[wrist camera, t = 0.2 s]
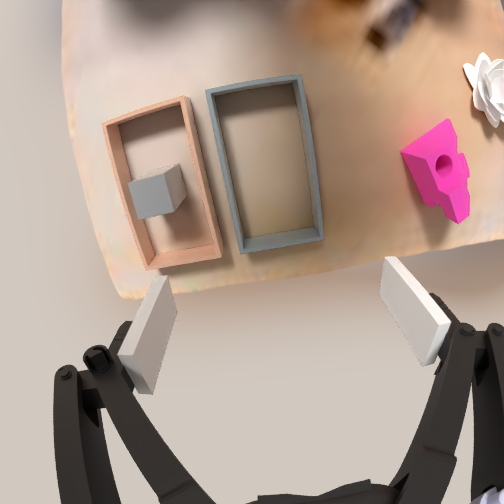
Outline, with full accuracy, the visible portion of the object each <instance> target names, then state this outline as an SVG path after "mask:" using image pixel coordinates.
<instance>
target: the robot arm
mask: <svg viewBox="0 0 504 504" xmlns="http://www.w3.org/2000/svg"><path fill="white" fill-rule="evenodd" d="M379 296H380V297H381V299H382V300H383V302H384V303H385V305H386V307H387V308H388V310H389V311H390V313H391V315H392V316H393V318H394V319H395V321H396V323H397V324H398V326H399V328H400V329H401V331H402V333H403V334H404V336H405V338H406V339H407V341H408V343H409V345H410V346H411V348H412V350H413V352H414V353H415V355H416V357H417V359H418V360H419V362H420V364H421V366H422V367H423V366H427V365H430V364H433V363H434V362H435V360H436V358H437V355H438V356H439V358H440V359H441V361H440V363H439V365H438V367H437V369H436V371H435V375H436V376H435V380H434V383H433V386H432V390H431V393H430V396H429V399H428V402H427V405H426V408H425V410H424V413H423V416H422V419H421V421H420V424H419V426H418V429H417V431H416V434H415V436H414V438H413V441H412V443H411V445H410V448H409V450H408V453H407V454H406V457H405V459H404V461H403V463H402V465H401V467H400V469H399V471H398V472H397V474H396V476H395V477H394V478H393V480H392V481H391V483H390V484H389V486H387V485H381V484H371V481H370V479H368V480H364V481H360V482H355V483H351V484H346V485H343V486H341V487H338V488H336V489H334V490H332V491H329V492H326V493H324V494H321V495H319V496H301V495H292V494H278V495H263V496H258V500H257V501H253V502H250V503H247V504H441V501H442V499H443V497H444V494H445V492H446V490H447V487H448V485H449V482H450V479H451V477H452V474H453V471H454V468H455V465H456V462H457V458H456V457H455V456H454V453H455V449H456V446H457V443H458V439H459V436H460V432H461V429H462V424H463V420H464V416H465V412H466V408H467V403H468V398H469V392H470V387H471V382H472V394H473V410H474V453H473V454H474V455H473V470H472V480H471V503H470V504H504V327H503V326H502V325H500V324H497V323H491V324H489V326H488V328H487V330H486V331H476V330H475V328H474V327H473V326H471V325H470V324H467V323H460V322H459V320H458V319H457V318H456V317H455V315H454V314H453V313H452V312H451V310H450V309H448V307H447V306H446V304H444V302H443V301H442V300H441V298H440V297H438V296H436V295H435V294H433V293H429V294H428V293H427V292H426V290H425V289H424V288H423V287H422V286H421V285H420V283H419V282H418V281H417V280H416V279H415V278H414V276H413V275H412V274H411V273H410V272H409V271H408V270H407V269H406V268H405V266H404V265H403V264H402V263H401V262H400V261H399V260H398V259H397V258H396V257H395V256H390V257H384V265H383V272H382V278H381V285H380V290H379ZM176 315H177V309H176V306H175V302H174V298H173V294H172V291H171V287H170V283H169V279H168V275H165V276H156V277H155V278H154V280H153V282H152V284H151V286H150V288H149V290H148V292H147V294H146V296H145V298H144V300H143V302H142V304H141V306H140V308H139V310H138V312H137V314H136V316H135V318H134V320H133V321H125V322H124V323H123V324H122V325H121V326H120V327H119V329H118V331H117V333H116V335H115V337H114V339H113V341H112V343H111V345H110V347H109V349H107V348H106V346H103V345H96V346H93V347H91V348H89V349H88V350H87V351H86V352H85V353H84V355H83V361H84V363H85V365H86V366H87V368H88V369H89V370H84V371H77V369H76V368H75V367H74V366H73V365H65V366H63V367H61V368H60V369H58V371H57V372H56V374H55V379H54V405H53V410H54V411H53V419H54V420H53V423H54V448H55V461H56V471H57V479H58V487H59V493H60V499H61V504H121V501H120V498H119V494H118V491H117V488H116V484H115V480H114V476H113V472H112V468H111V464H110V460H109V455H108V450H107V445H106V440H105V435H104V429H103V423H102V417H101V410H100V408H106V409H107V411H108V413H109V415H110V417H111V419H112V421H113V423H114V425H115V427H116V429H117V431H118V433H119V435H120V437H121V439H122V440H123V442H124V444H125V446H126V448H127V449H128V451H129V453H130V454H131V456H132V458H133V460H134V461H135V463H136V464H137V466H138V468H139V469H140V471H141V472H142V474H143V475H144V477H145V479H146V480H147V482H148V483H149V484H150V486H151V487H152V489H153V490H154V492H155V493H156V494H157V496H158V499H159V502H160V504H216V503H215V502H214V501H213V500H212V499H211V498H210V497H209V496H208V495H207V493H206V492H205V491H204V490H203V489H202V488H201V487H200V486H199V484H198V483H197V482H196V481H195V480H194V479H193V478H192V476H191V475H190V474H189V473H188V471H187V470H186V469H185V468H184V467H183V465H182V464H181V463H180V462H179V460H178V459H177V458H176V456H175V455H174V454H173V452H172V451H171V450H170V449H169V447H168V446H167V445H166V443H165V442H164V441H163V439H162V437H161V436H160V435H159V433H158V432H157V430H156V429H155V427H154V426H153V424H152V423H151V422H150V420H149V418H148V417H147V416H146V414H145V412H144V411H143V409H142V408H141V406H140V404H139V403H138V401H137V400H136V398H135V397H134V395H133V389H134V387H135V388H136V390H137V391H138V393H140V394H152V395H153V392H154V389H155V385H156V382H157V378H158V375H159V371H160V367H161V364H162V360H163V357H164V354H165V350H166V347H167V344H168V340H169V337H170V334H171V331H172V328H173V325H174V321H175V318H176Z"/></svg>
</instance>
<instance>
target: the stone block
mask: <svg viewBox="0 0 504 504" xmlns="http://www.w3.org/2000/svg"><path fill="white" fill-rule="evenodd" d="M128 186H129V190H130V193H131V197H132V200H133V203H134V207H135V210H136V213H137V216H138V219H139V220H141V219H146V218H150V217H154V216H159V215H163V214H167V213H172V212H175V210H176V209H177V208H178V206H179V205H180V204H181V202H182V201H183V200H184V199H185V197H186V196H187V193H186V189H185V185H184V181H183V177H182V173H181V169H180V165H179V163H178V164H174V165H170V166H167V167H163V168H159V169H155V170H152V171H148V172H146V173H145V174H143V175H141V176H139V177H138V178H136V179H134V180H133V181H131V182H129V183H128Z"/></svg>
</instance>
